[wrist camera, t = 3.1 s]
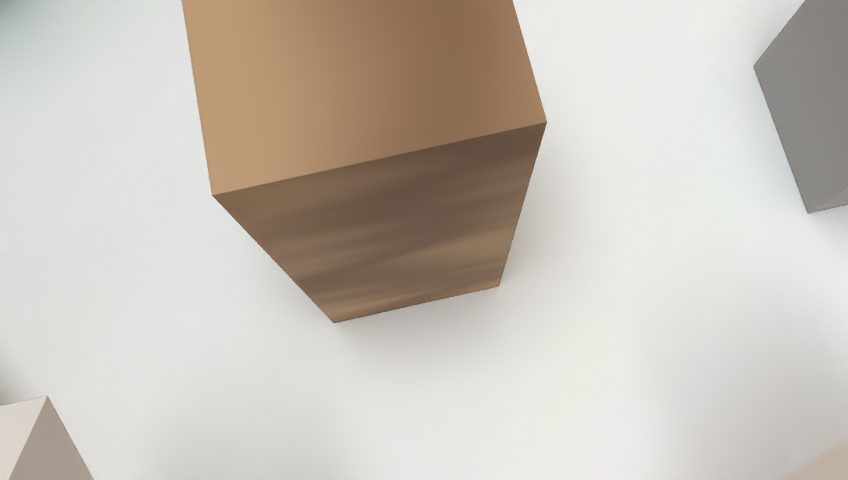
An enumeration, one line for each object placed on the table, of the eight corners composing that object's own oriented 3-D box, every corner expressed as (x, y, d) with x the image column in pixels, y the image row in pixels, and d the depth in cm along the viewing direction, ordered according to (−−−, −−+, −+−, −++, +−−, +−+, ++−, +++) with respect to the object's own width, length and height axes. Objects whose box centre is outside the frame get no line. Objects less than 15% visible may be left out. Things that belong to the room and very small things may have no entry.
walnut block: (333, 323, 23) (211, 195, 11) (304, 167, 24) (167, -91, 13) (498, 286, 23) (547, 122, 11) (460, 133, 24) (468, -155, 13)
